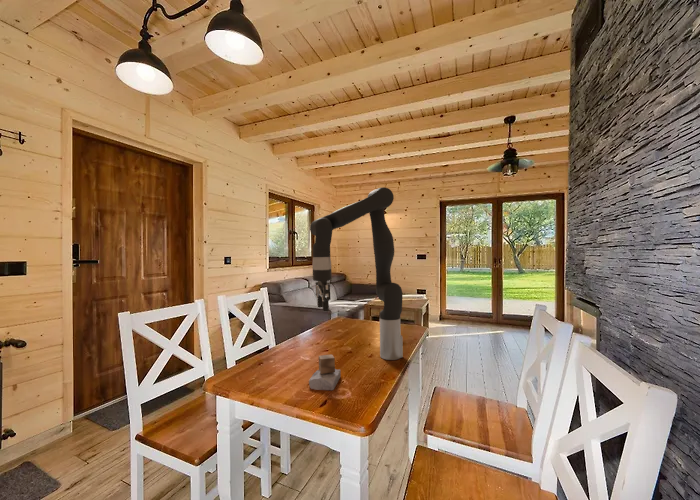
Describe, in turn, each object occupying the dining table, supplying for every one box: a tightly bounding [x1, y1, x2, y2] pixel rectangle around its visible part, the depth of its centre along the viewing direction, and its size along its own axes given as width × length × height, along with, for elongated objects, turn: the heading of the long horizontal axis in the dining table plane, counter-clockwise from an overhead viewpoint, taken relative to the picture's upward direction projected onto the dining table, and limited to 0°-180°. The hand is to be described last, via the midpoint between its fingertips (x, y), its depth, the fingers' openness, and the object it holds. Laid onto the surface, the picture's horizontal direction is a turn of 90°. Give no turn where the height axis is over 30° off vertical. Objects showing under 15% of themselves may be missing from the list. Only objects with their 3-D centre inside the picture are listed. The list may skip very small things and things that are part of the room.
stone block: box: [308, 368, 342, 391], centre depth 103 cm, size 12×5×10 cm
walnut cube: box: [318, 354, 336, 374], centre depth 104 cm, size 5×5×5 cm
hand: (323, 309), depth 114 cm, fingers open, 8 cm apart
